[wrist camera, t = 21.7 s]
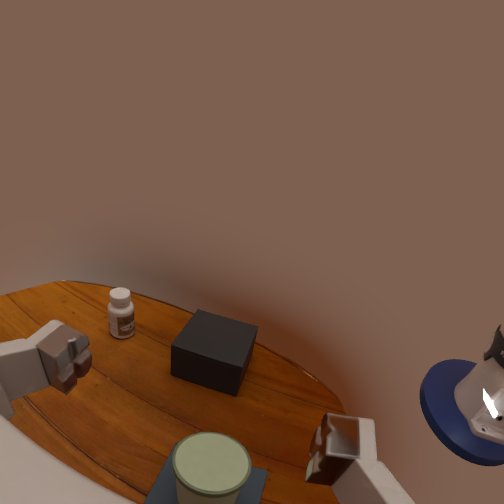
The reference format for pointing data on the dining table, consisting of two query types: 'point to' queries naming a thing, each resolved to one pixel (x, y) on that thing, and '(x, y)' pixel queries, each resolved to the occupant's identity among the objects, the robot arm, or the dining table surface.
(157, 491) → the mat
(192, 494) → the lidded cream canister
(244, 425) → the dining table surface
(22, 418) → the dining table surface
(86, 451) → the dining table surface
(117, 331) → the pill bottle
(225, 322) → the dark grey square box
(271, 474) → the dining table surface
